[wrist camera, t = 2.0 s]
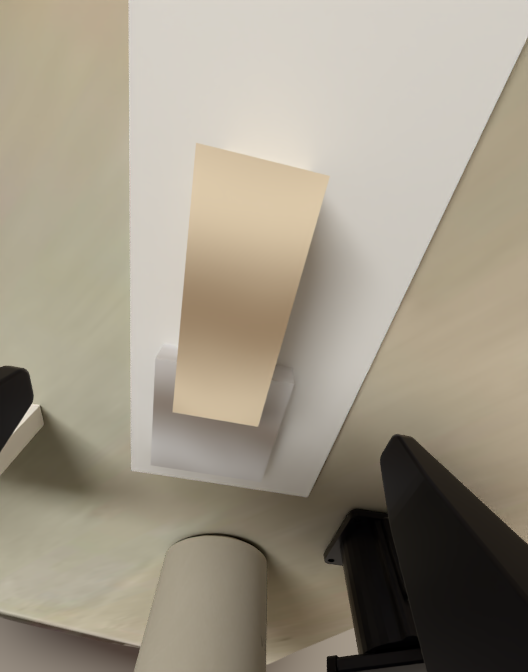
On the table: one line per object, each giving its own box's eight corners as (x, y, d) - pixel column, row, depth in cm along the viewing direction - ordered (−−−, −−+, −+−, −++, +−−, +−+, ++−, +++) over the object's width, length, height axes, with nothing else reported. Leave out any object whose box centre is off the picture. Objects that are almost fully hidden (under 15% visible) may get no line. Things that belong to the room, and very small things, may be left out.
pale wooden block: (261, 463, 18) (259, 536, 14) (157, 446, 17) (129, 518, 14) (352, 181, 10) (393, 192, 7) (176, 137, 10) (124, 125, 6)
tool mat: (307, 491, 20) (307, 497, 19) (133, 464, 19) (131, 470, 18) (566, -63, 8) (580, -74, 8) (134, -212, 7) (127, -231, 7)
